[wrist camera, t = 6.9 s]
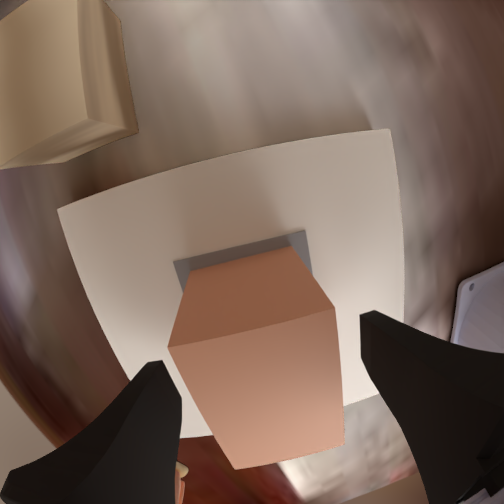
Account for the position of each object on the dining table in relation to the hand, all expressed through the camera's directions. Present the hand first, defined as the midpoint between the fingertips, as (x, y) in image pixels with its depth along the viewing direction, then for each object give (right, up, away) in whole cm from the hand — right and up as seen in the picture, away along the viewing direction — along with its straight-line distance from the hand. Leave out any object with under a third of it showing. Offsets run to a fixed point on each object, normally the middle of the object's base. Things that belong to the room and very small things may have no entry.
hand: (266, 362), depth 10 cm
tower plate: (0, +1, +4) cm, 4 cm away
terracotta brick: (0, +1, +2) cm, 3 cm away
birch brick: (-8, +11, 0) cm, 14 cm away
